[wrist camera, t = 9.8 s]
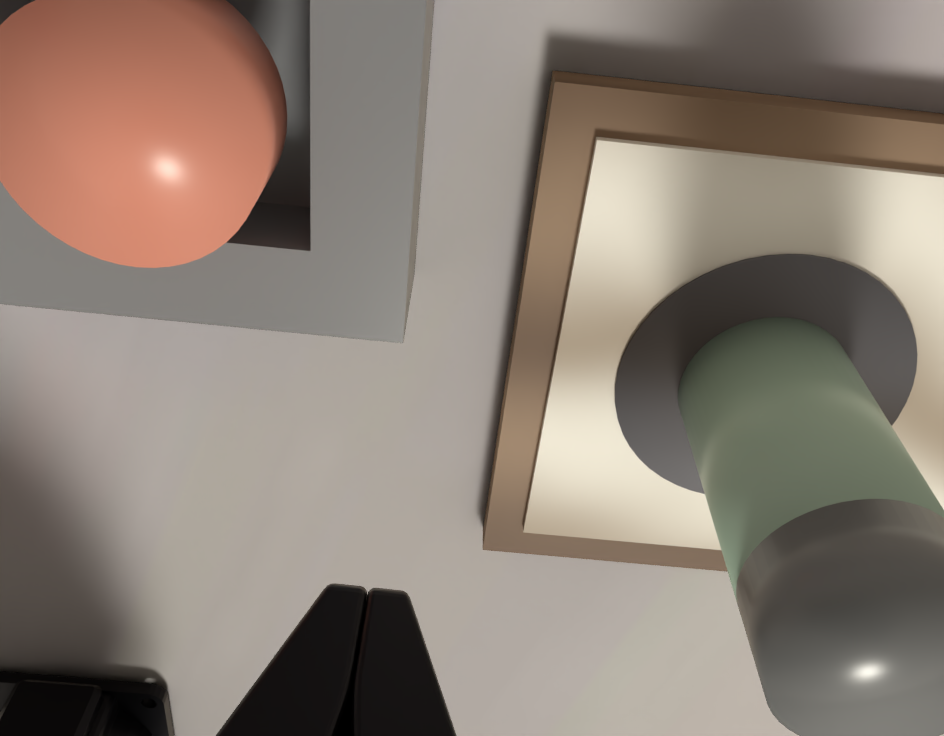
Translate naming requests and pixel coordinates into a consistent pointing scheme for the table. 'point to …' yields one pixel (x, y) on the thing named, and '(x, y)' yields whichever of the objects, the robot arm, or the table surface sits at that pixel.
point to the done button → (138, 124)
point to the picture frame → (703, 295)
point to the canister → (820, 531)
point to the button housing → (285, 193)
